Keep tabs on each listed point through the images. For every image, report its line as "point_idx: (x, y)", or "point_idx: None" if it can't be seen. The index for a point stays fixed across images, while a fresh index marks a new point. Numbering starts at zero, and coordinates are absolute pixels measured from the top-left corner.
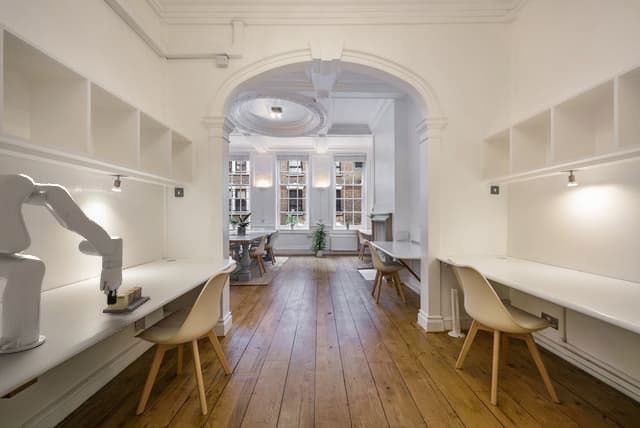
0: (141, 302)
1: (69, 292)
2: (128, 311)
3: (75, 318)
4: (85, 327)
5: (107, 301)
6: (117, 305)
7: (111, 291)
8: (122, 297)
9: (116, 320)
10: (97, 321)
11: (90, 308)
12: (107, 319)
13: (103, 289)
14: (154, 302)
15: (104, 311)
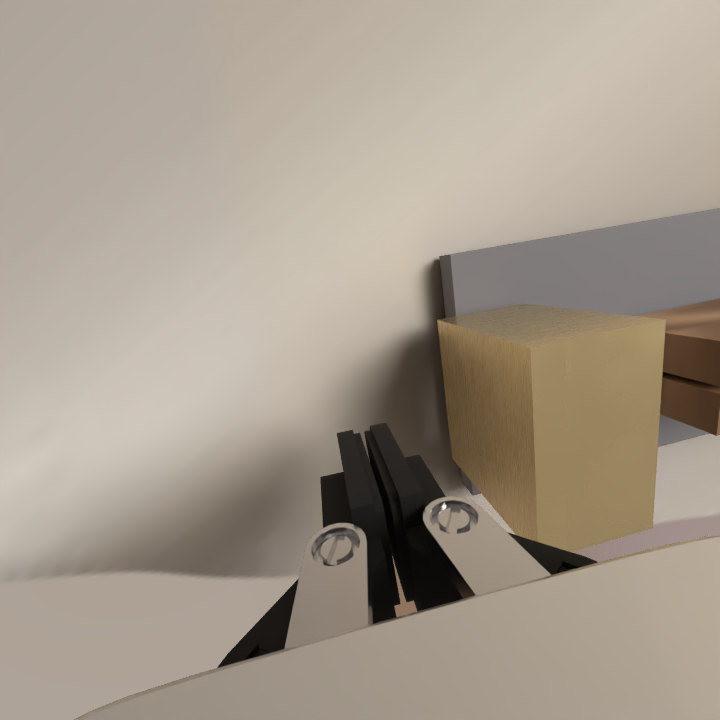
0: (664, 441)
1: None
2: None
3: (259, 83)
4: (48, 390)
5: (342, 456)
6: (465, 422)
7: (483, 568)
8: (524, 527)
9: (262, 509)
10: (214, 378)
11: (580, 4)
12: (275, 424)
13: (245, 682)
14: (689, 489)
15: (444, 272)
